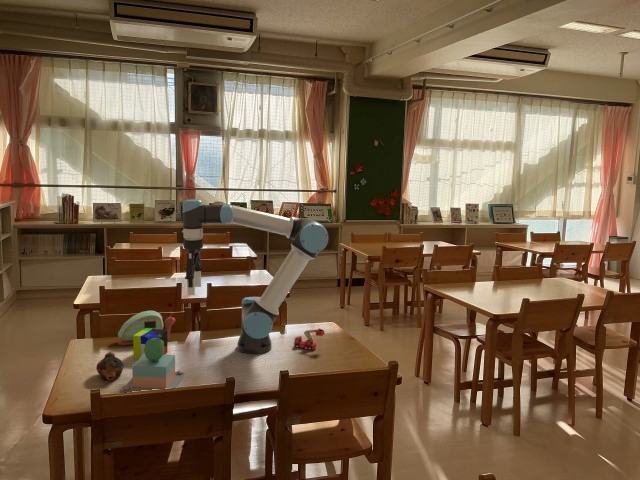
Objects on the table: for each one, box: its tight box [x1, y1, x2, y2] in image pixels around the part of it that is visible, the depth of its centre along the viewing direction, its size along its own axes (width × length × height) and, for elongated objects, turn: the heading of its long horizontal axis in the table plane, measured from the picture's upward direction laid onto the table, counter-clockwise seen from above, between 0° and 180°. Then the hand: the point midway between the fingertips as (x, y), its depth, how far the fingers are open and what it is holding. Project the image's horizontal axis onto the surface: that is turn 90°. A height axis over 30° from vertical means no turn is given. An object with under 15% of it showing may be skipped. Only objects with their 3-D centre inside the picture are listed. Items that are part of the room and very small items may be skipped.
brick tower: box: [120, 354, 186, 392], centre depth 195 cm, size 18×18×9 cm
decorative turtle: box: [96, 351, 125, 381], centre depth 199 cm, size 10×15×8 cm, turn 28°
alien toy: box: [144, 334, 164, 361], centre depth 194 cm, size 7×8×10 cm
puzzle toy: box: [132, 328, 169, 360], centre depth 222 cm, size 10×10×10 cm
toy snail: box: [117, 310, 176, 346], centre depth 239 cm, size 25×8×14 cm, turn 116°
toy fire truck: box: [293, 328, 325, 351], centre depth 237 cm, size 3×14×10 cm, turn 68°
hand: (194, 290), depth 214 cm, fingers open, 13 cm apart
